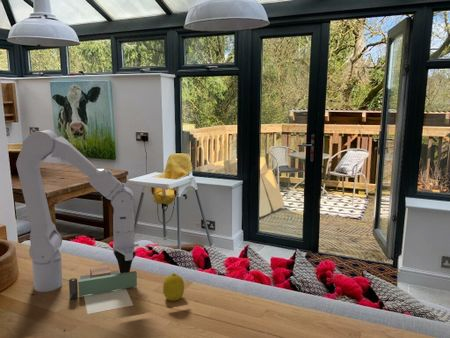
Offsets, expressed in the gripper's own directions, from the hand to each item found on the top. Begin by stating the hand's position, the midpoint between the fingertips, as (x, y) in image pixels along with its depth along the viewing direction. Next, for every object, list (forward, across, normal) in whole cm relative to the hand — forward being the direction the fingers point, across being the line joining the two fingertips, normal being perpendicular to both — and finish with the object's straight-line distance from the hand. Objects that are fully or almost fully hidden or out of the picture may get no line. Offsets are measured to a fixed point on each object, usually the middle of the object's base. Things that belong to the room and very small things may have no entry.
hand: (124, 275), depth 109 cm
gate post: (+3, -5, +14) cm, 15 cm away
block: (+2, +1, +7) cm, 7 cm away
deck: (+3, -3, +6) cm, 7 cm away
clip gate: (+1, -5, +5) cm, 7 cm away
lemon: (+3, -15, -10) cm, 18 cm away
